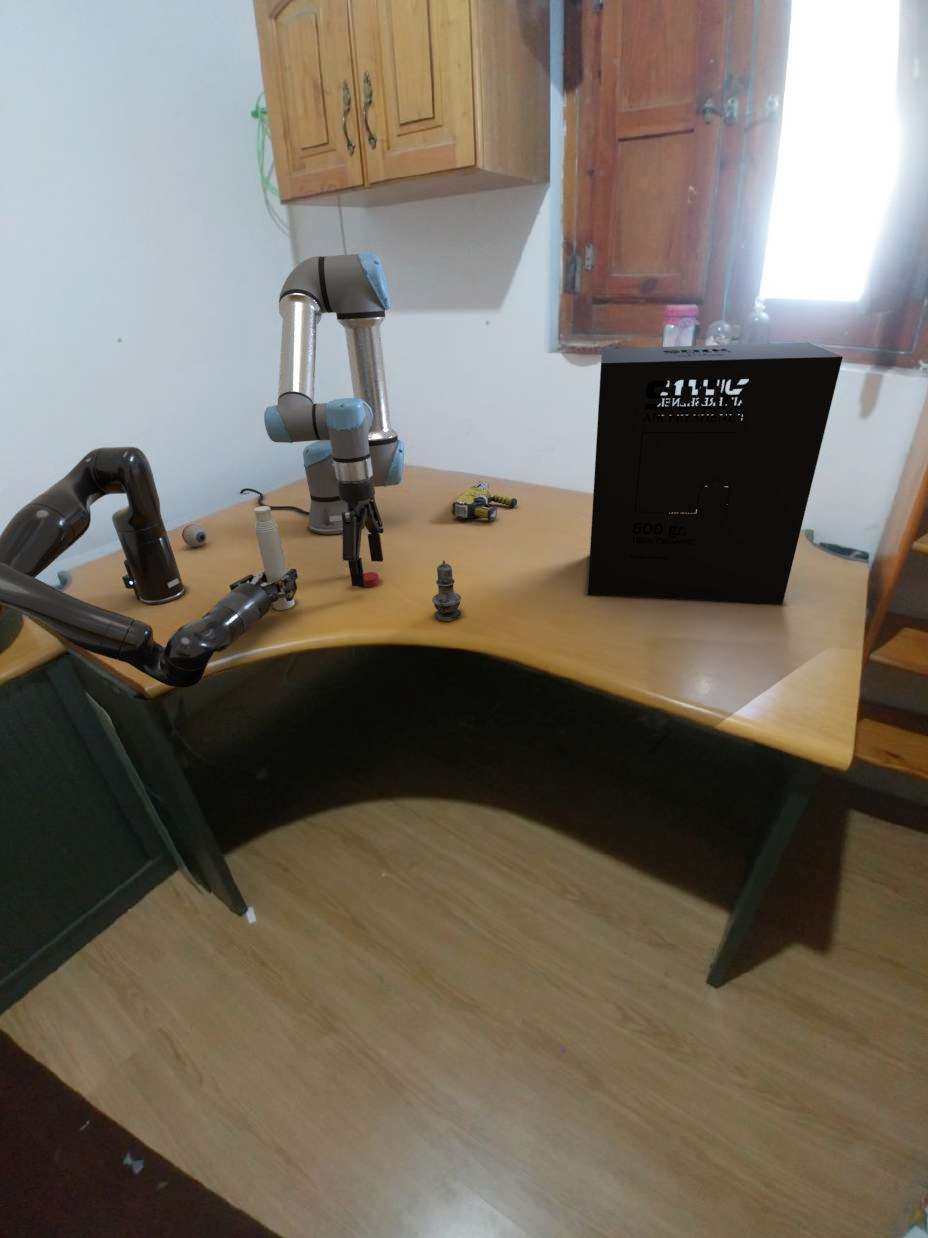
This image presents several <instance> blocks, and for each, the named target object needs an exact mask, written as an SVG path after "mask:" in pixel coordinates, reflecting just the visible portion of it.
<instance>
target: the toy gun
mask: <svg viewBox="0 0 928 1238" xmlns="http://www.w3.org/2000/svg"><path fill="white" fill-rule="evenodd" d="M489 485H490V484H489V482H487V481H484V482H483V481H482V480H480V481H478V483H476V484H475V485H474V486H473V485H472V486H471V487H470V488H469V489H468V490H466V491H465V492H464V493H463V494H462V495H460V497H458V498H457V499H456V500H454V502H453V503H452V504H451V515H452V516H453V517H456V518H457V519H460V520H463V519H471V518H476V517H481V518H484V519H487V522H488V523H490V522H492V521H494V520H496V519H497V515H498V514H497V513H498V506H495V505H494V506H492V507H491V506H490V505H489V504H490V503H492V502H493V503H495V504H496V503H498V504H501V505H505V506H509V507H512V508H515V507H516V506H517V505H518V499H517V498H516V497H509V496H504V495H499V494H497V493H496V494H494V495H491V493H490V492H489V490H487V489H488V488H489Z"/></svg>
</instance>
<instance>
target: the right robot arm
mask: <svg viewBox="0 0 928 1238" xmlns="http://www.w3.org/2000/svg"><path fill="white" fill-rule="evenodd" d="M390 299H391V298H390V292H389V288H388V284H387V279H386V274H385V270H384V267H383V264H382V262H381V259H380V257H379V256H377V255H376V254H373V253H360V252H359V253H352V254H339V255H325V256H322V255H321V256H320V255H317V256H311V257H309V258H307V259H304V260H303V261H301V262H300V263H298V265H296V266H295V267H294V268H293V269H292V270H291V272H290V273H289V275H287V277H286V279H285V281H284V283H283V285H282V287H281V291H280V293H279V298H278V313H279V315H280V317H281V319H282V324H281V325H282V326H281V341H280V357H279V373H278V389H277V405H276V404H274V405H270V406H267V407H266V409H265V410H264V413H263V420H264V428H265V431H266V434H267V436H268V438H269V440H270V441H272V442H274V443H282V444H283V443H284V444H285V443H286V444H288V443H289V444H293V443H301V442H312V443H309V444H308V445H306V446H305V447H304V448H303V450H302V457H303V459H302V460H303V467H304V471H305V477H306V481H307V486H308V492H309V498H310V507H309V511H307V510H303V509H301V508H300V507H298V506H291V505H279V506H278V505H277V506H275V505H273V506H272V505H267V504H264V503H263V502H262V499H263V497H264V494H263V493H262V492H260V491H258V490H257V489H254V488H248V487H246V488H243V489H241V490H240V492H239V494H243V493H244V492H252V493H255V494H257V495H258V496H259V497H258V499H257V502H258V504H259V505H260V506H268V507H270V509H271V510H280V509H281V510H286V509H287V510H295V511H298V512H299V513H301V514H304V515H308V523H307V524H308V528H309V529H308V530H310V531H311V532H312V533H314V534H317V535H323V536H324V535H325V536H327V535H329V536H331V535H339V534H340V535H341V534H342V561H346V562H348V563H347V564H348V568H349V574H350V580H351V581H350V582H351V587H358V588H359V587H361V588H365V587H364V586H365V579H364V573H365V572H364V566H363V558H362V557H360V551H361V541H362V532H363V531H362V530H363V529H364V528H366V530H367V532H368V534H367V540H368V542H367V543H368V548H369V555H370V561H371V562H381V563H382V562H384V555H383V547H382V546H383V545H382V539H381V534H384V532H385V530H384V529H385V528H384V527H383V525H384V524H383V521H382V518H381V515H380V511H379V509H378V506H377V502H376V498H375V495H376V489H375V488H379V487H383V488H387V487H391V486H398V485H400V484H401V482H402V481H403V476H404V463H405V442H404V440H402V439H399V436H398V433H397V431H395V430H394V428H392V426H391V417H390V416H391V415H390V406H389V397H388V388H387V379H386V369H385V360H384V359H385V358H384V350H383V341H382V332H381V331H382V330H381V325H382V324H383V323H384V321H385V319H386V311H388V310H390V309H391V300H390ZM325 313H327V314H333V313H334V314H335V315H336V321H337V323H339V324H340V325H341V326H342V327H343V328H344V335H345V342H346V349H347V357H348V364H349V365H348V366H349V372H350V379H351V387H352V395H353V397H345V398H344V397H343V398H336V399H333V400H329V401H328V402H321V403H320V402H319V403H314V402H315V381H316V380H315V379H316V356H317V355H316V353H317V352H316V351H317V327H318V324H319V323H320V321H321V320H322V315H323V314H325Z"/></svg>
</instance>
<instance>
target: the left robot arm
mask: <svg viewBox="0 0 928 1238" xmlns="http://www.w3.org/2000/svg"><path fill="white" fill-rule="evenodd" d="M147 457H148V456H146V454H145V453H144V451H142V450H141V449H140V448H138V447H135V446H105V447H97V448H95V449H91V450H90V451H89V452H88V453H87V454H86V455H84V456H83V457H82V458H81V459H80V460H79V461H78V462H77V464H75V466H74V467H72V469H71V470H70V471H69V472H68V473H67V474H66V475H65V476H63V477H62V478H61V479H59V480H58V481H57V482H55V483H54V484H53V485H51V486H50V487H49V488H48V489H47V490H45V491H44V492H42V493H41V494H39V495H38V496H36V497H35V498H33V499H32V500H31V501H29V502H28V503H27V504H25V505H24V506H23V507H21V508H20V509H19V510H18V511H17V512H16V513H15V514H14V515H13V516H12V518H11V519H10V520H9V522H7V524H6V526H5V527H4V528H3V530H2V532H1V534H0V618H1V617H2V616H3V615H4V614H5V612H6V611H7V610H8V609H9V608H11V609H15V610H17V611H20V612H22V613H24V614H26V615H28V616H30V617H32V618H33V619H35V620H37V621H39V622H41V623H42V624H44V625H45V626H46V627H48V628H49V629H51V630H52V631H54V632H55V633H57V634H58V635H60V636H61V637H62V638H64V639H65V640H66V641H68V642H69V643H71V644H72V645H75V646H76V647H78V648H80V649H82V650H85V651H87V652H90V653H93V654H96V655H99V656H103V657H106V658H109V659H112V660H116V661H120V662H123V663H126V664H128V665H130V666H132V667H133V668H134V669H136V670H137V671H140V672H141V673H144V675H147V676H148V677H150V678H152V679H153V680H155V681H157V682H159V683H161V684H164V685H165V686H169V687H173V688H179V689H183V688H190V687H193V686H195V685H197V684H198V683H199V682H200V681H201V680H202V678H203V676H204V673H205V672H206V669H207V667H208V664H209V662H210V660H211V658H212V656H213V655H214V654H215V653H221V652H224V651H225V650H227V649H228V648H230V647H231V646H232V645H233V644H234V643H235V642H236V641H237V640H239V639H240V637H242V636H243V635H244V634H246V633H248V632H249V631H250V630H251V629H252V628H253V627H254V626H255V625H256V624H257V623H258V622H260V620H262V619H263V618H264V617H265V616H266V615H267V614H268V612H270V611H269V610H270V609H271V605H273V602H275V601H277V600H278V599H279V598H286V600H287V601H292V600H293V598H294V597H295V595H296V593H297V591H298V586H297V579H298V578H299V576H298V571H297V568H290V569H289V570H288V572H287V573H286V574H285V575H284V576H283V577H281V578H279V579H278V578H275V579H273V580H271V581H269V582H267V578H266V574H265V570H264V571H263V572H262V573H257V574H256V575H254V574H248V575H246V576H244V577H242V578H240V579H238V580H237V581H235V582H233V583H231V584H229V590H230V592H228V594H226V595H225V596H223V597H222V598H221V599H220V600H219V601H217V603H216V604H215V605H214V606H213V607H212V609H210V610H209V611H208V612H206V614H204V615H203V616H201V618H198V619H196V620H193V621H191V622H189V623H187V624H184V625H182V626H180V627H179V628H178V629H177V630H175V631H174V632H173V633H172V634H171V636H170V637H169V638H168V640H167V642H166V645H165V646H164V645H162V644H160V643H159V642H157V641H156V640H155V639H154V630H153V628H152V626H151V625H150V624H149V623H147V622H144V621H141V620H138V619H135V618H133V617H129V616H126V615H124V614H120V613H117V612H114V611H112V610H109V609H105V608H102V607H99V606H97V605H94V604H92V603H89V602H86V601H84V600H82V599H79V598H78V597H75V596H73V595H71V594H68V593H67V592H65V591H62V590H60V589H58V588H56V587H54V586H53V585H50V584H48V583H46V582H44V581H42V580H40V579H38V578H36V577H37V576H39V575H40V574H41V573H42V572H43V571H45V570H46V569H47V568H48V567H49V566H50V565H51V564H52V563H53V562H55V561H56V560H57V559H58V558H59V557H60V556H62V554H63V553H64V552H66V551H67V550H68V549H70V548H71V547H72V546H73V545H74V544H75V543H76V542H77V541H79V539H81V538H82V537H83V536H84V534H86V532H87V531H88V530H89V528H90V526H91V521H92V511H91V506H92V505H93V504H95V503H96V502H97V501H98V500H100V499H101V498H103V497H104V496H109V495H125V494H126V499H127V506H124V507H121V508H120V509H118V510H116V511H115V512H114V513H113V514H112V515H111V521H112V524H113V526H114V530H115V532H116V534H117V537H118V540H119V543H120V545H121V549H122V551H123V554H124V556H125V559H124V560H123V565H124V568H125V570H126V574H124V576H123V575H122V578H121V579H122V582H123V584H124V587H125V589H128V590H133V592H134V594H135V598H136V600H137V601H140V602H141V603H143V604H145V605H161V604H165V603H169V602H172V601H174V600H177V599H178V598H181V596H183V595H184V594H185V592H186V587H185V584H184V583H183V580H182V576H181V573H180V570H179V567H178V564H177V560H176V557H175V554H174V551H173V548H172V545H171V541H170V539H169V536H168V533H167V530H166V526H165V523H164V519H163V517H162V514H161V513H162V512H161V501H160V497H159V494H158V490H157V487H156V481H155V478H154V474H153V469H152V466H151V464H150V461H149V459H148V458H147ZM283 582H284V586H282V583H283ZM294 599H295V598H294Z"/></svg>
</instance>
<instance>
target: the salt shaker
mask: <svg viewBox="0 0 928 1238" xmlns="http://www.w3.org/2000/svg"><path fill="white" fill-rule="evenodd" d="M436 573H437V574H436V575H437V579H436V582H435V583H436V585H437V587H438V588H437V589H438V590H437V591H438V593H437V594H435V595H434V596H433V597H432V598H431V601H432V604H433V605H434V606H433V607H434V608H435V609H436V611H435V613H434V617H435V618H436V620H439V621H443V622H449V621H451V622H452V621H455V620H458V618H460V617H461V615H462V612H461V610H460V609H459V607H460V604H461V601H462V596H461V595H460V594H459V593H458V592H455V589H454V584H455V579H454V578H453V567H452V565H450V564H449V563H447V562H446V560H443V561H442V562H441V564H439V565H438V566H437V568H436Z"/></svg>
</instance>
